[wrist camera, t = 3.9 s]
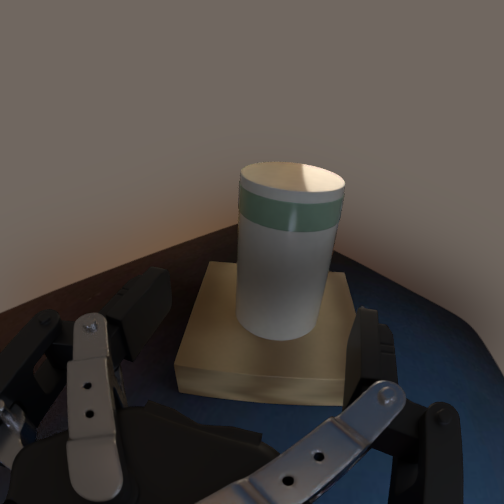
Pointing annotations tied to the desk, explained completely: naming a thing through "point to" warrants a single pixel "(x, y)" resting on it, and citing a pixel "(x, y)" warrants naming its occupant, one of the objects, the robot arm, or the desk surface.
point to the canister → (284, 246)
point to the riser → (263, 349)
